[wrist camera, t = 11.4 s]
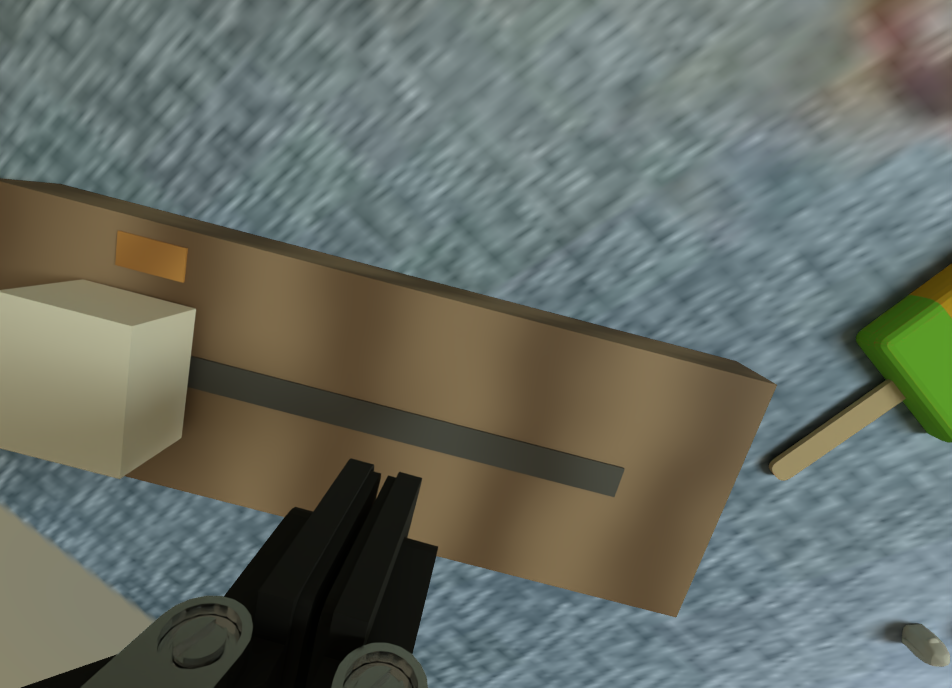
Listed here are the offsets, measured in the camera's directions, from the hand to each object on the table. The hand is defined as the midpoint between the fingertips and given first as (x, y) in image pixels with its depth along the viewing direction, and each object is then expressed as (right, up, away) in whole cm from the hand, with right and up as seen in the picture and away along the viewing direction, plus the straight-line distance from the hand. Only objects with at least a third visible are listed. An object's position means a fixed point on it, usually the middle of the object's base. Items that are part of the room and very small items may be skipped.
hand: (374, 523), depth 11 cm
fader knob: (-10, +3, +7) cm, 12 cm away
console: (-2, +2, +10) cm, 10 cm away
